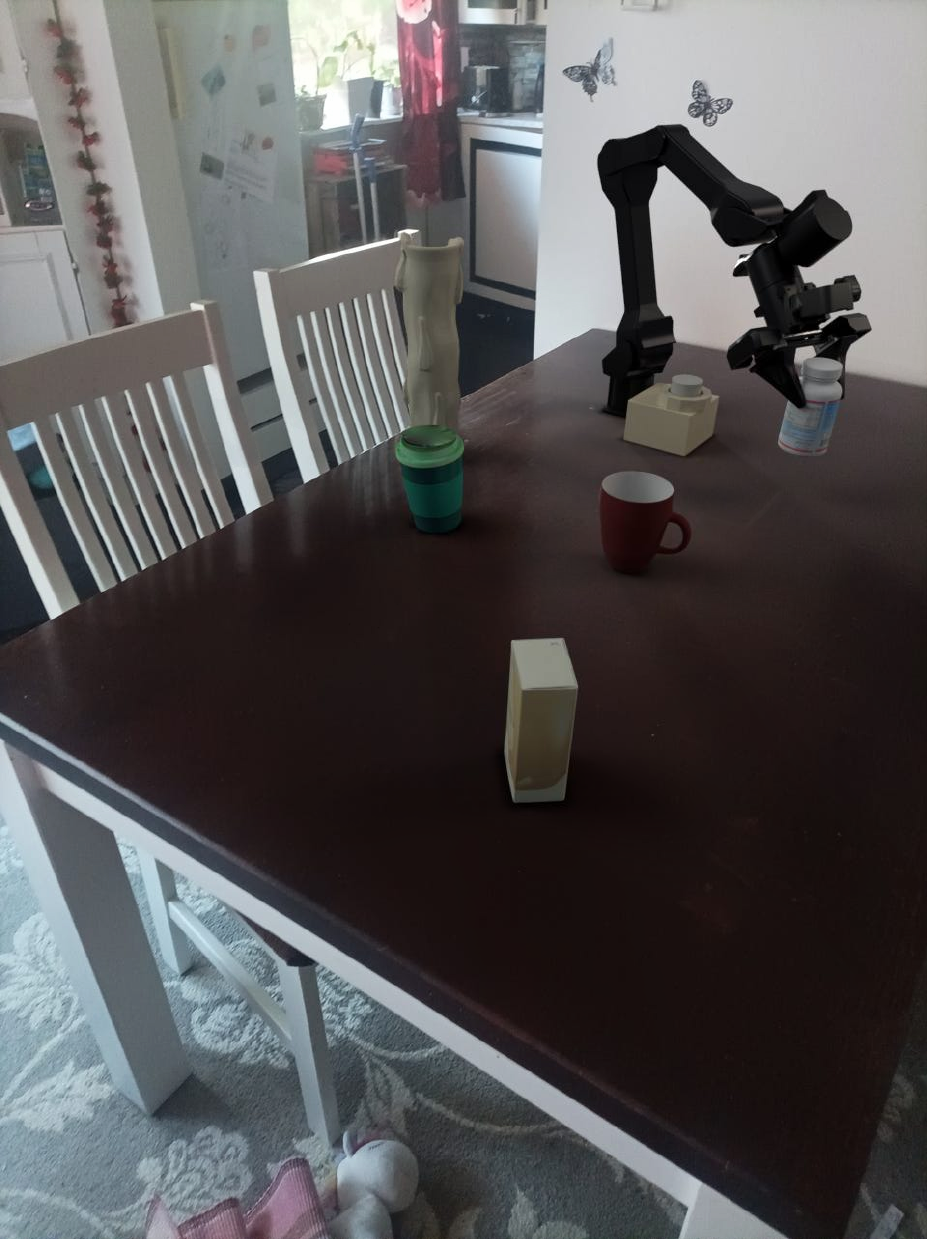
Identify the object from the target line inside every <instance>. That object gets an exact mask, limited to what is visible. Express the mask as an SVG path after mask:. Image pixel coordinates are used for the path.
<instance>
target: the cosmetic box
mask: <svg viewBox="0 0 927 1239" xmlns="http://www.w3.org/2000/svg"><path fill="white" fill-rule="evenodd" d="M578 690H579V685H578V682H577V678H576V675H575V671H574V667H573V663H572V661H571V658H570V655H569V650H568V648H567V645H566V641H565V639H564V638H563V637H556V638H553V637H551V638H529V639H512V640H511V642H510V659H509V675H508V691H507V692H508V693H507V707H506V722H505V724H506V725H505V736H504V759H505V767H506V774H507V780H508V784H509V789H510V793H511V798H512V802H513V803H514V804H517V803H519V804H520V803H543V802H545V803H546V802H561V801H564V800H565V797H566V796H565V795H566V790H567V789H566V787H567V779H568V773H569V772H568V771H569V765H570V764H569V763H570V755H571V749H572V748H571V747H572V740H573V733H574V732H573V731H574V723H575V715H576V709H577V708H576V707H577V700H578Z"/></svg>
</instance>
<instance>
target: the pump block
mask: <svg viewBox="0 0 927 1239" xmlns="http://www.w3.org/2000/svg"><path fill="white" fill-rule="evenodd" d="M670 388H671V383H663V382H660V381H658V382H656V383H655V384H653V386H651V387H650V388H648V389H646V390H645V391H643V392H641V393H640V394H638V395H636V396H635V397H633V398H631V399H630V400H628V406H627V415H626V418H625V424H624V431H623V441H627V442H630V443H633V444H637V445H642V446H644V447H645V446H646V447H649V448H652V449H655V450H660V451H663V452H667V453H671V454H674V455H678V456H681V457H686V456H687V455H689V454H690V453H691V452H692V451H694V450H695V449H696V448H698V447H699V446H701V445H702V444H703V443H704V442H706V441H707V440H708V439H710V438H711V437H712V436H713V434H714V428H715V424H716V417H717V413H718V412H717V411H718V406H719V402H720V396H719V395H715V394H712V390H711V389H709V388H708V387H705V386H704V385H702V391H701V396H699V397H692V398H691V397H680V396H676V395H673V394H671V393H670Z"/></svg>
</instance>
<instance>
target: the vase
mask: <svg viewBox="0 0 927 1239" xmlns="http://www.w3.org/2000/svg"><path fill="white" fill-rule="evenodd" d="M464 247H465V240H464V239H463V238H462V237H460V236H457V237H455V238H450V239H449V240H448V244H447V245H446V246H418V245H413V241H412V236H411V235H410V234H409V233H407V232H405V231H402V232H401V233H400V259H399V261H398V264H397V266H396V269H395V276H394V277H395V278H394V284H395V289H396V290H397V291H398V292H401V293H402V310H403V320H404V327H405V331H406V336H407V358H406V359H407V360H406V372H405V373H406V374H405V377H404V381H403V383H402V389H401V390H402V391H401V395H402V396H401V397H402V400H403V402H404V404H406V405H408V412H409V422H410V423H409V424H410V428H411V427H415V426H419V425H440V426H445V427H448V428H450V429H452V430H453V431H454V432H455V433H456V435H458V436H459V411H460V409H461V406H462V395H461V389H460V384H459V380H458V379H459V370H460V368H459V367H460V366H459V365H460V341H459V340H460V339H459V333H458V329H457V328H458V327H457V322H456V314H457V313H456V310H457V305H460V304H461V303H462V300H463V299H462V298H463V293H464V274H463V270H462V264H461V255H462V252H463V250H464Z"/></svg>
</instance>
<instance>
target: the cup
mask: <svg viewBox="0 0 927 1239" xmlns="http://www.w3.org/2000/svg"><path fill="white" fill-rule="evenodd" d="M464 451H465V445H464V441H463V439H462V438H461V437H460V436H459V434H458V435H456V433H455V432H454V431H453V430H452V429H450V428H448V427H445V426H440V425H419V426H415V427H411V426H410V427H408V428H406V429H405V430H404V431H403V432H402V434H401V436H400V439H399V442H398V443H397V444H396V447H395V457H396V459H397V461H398V462H399V465H400V469H401V477H402V478H401V479H402V482H403V484H404V485H403V486H404V490H405V493H406V496H407V500H408V504H409V509H410V511H411V512H412V516H413V520H414V524H415V526H416V528H417V529H419V530H420V531H422V532H424V533H427V534H436V535H437V534H438V535H439V534H446V533H449V532H452V531H455V530H456V529H457V528H458V526H459V525H460V524H461V522H462V506H463V487H464V486H463V484H464V466H463V453H464Z"/></svg>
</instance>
